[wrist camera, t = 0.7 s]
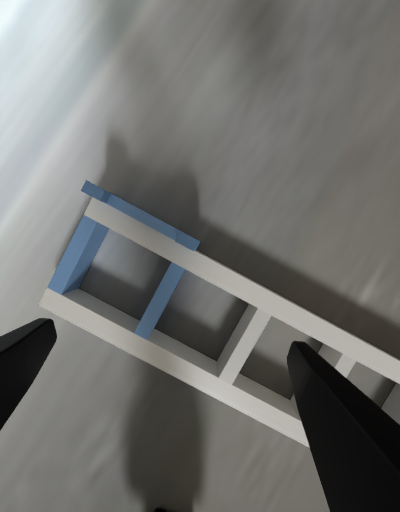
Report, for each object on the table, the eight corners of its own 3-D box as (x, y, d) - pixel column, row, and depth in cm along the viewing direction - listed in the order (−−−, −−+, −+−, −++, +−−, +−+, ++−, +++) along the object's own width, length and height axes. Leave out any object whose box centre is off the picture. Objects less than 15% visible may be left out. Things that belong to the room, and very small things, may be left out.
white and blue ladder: (435, 495, 25) (495, 561, 20) (58, 297, 24) (19, 312, 19) (497, 402, 24) (576, 444, 19) (111, 193, 23) (85, 179, 18)
